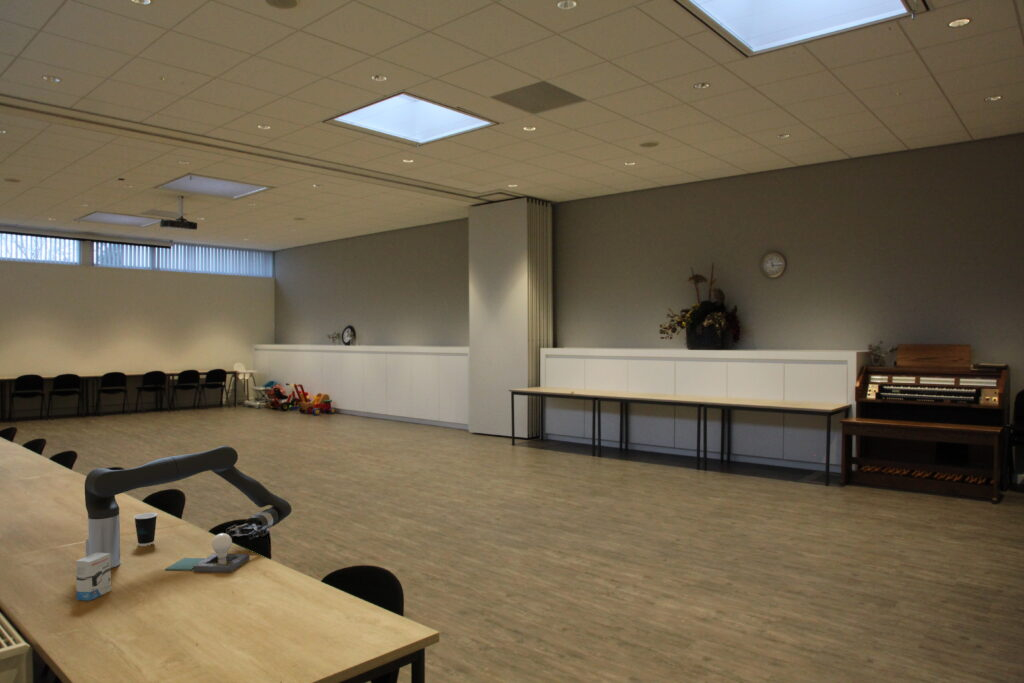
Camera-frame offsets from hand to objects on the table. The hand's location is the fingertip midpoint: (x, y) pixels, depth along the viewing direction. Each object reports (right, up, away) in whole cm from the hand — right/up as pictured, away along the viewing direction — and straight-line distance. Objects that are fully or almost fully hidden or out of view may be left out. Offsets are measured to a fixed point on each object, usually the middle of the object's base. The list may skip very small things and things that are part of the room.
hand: (238, 536), depth 244 cm
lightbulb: (-1, -7, -11) cm, 13 cm away
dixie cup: (-40, -7, +14) cm, 43 cm away
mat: (-13, -7, -10) cm, 18 cm away
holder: (-1, -7, -11) cm, 13 cm away
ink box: (-29, -8, -36) cm, 47 cm away
